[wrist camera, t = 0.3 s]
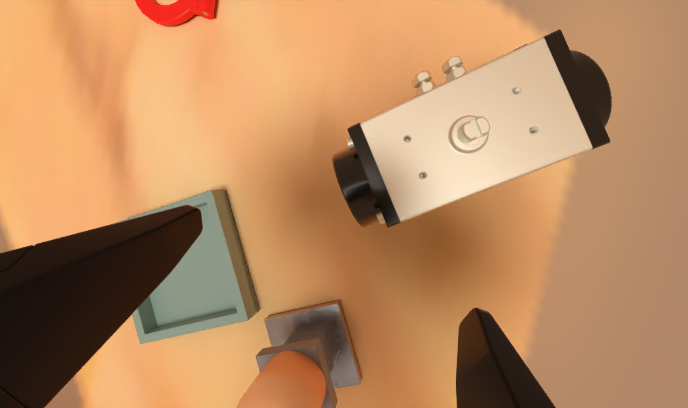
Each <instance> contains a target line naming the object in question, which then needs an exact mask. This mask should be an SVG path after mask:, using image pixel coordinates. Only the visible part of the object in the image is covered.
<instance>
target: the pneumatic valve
mask: <svg viewBox="0 0 688 408" xmlns="http://www.w3.org/2000/svg"><path fill="white" fill-rule="evenodd" d="M462 64H463V62H462V59H461V58H460V56H455V57H452V58H451V59H449V60H448V61H446V62H445V63H444V64H443V66H442V70H443V72H444V73H445V74H448V75H447V77H446V79H447V82H445V83H443V84H441V85H439V86H435V84H434V82H433V81H430V80H431V79H432V76H431V74H430V73H429V72H428V71H424V72H422V73H420V74H418V75H417V76H415V77H414V78H413V80H412V84H413V87H414V88H418V89H417V90H416V94H417V96H415V97H413V98H411V99H409V100H407V101H404V102H402V103H400V104H398V105H396V106H394V107H392V108H390V109H387V110H385V111H383V112H381V113H379V114H377V115H375V116H373V117H370V118H368V119H366V120H364V121H362V122H360V123H358V124H355V125H353V126H351V127H350V128H348V132H349V134H350V137H351V138H349V139H346V143H347V145H348V148H347V149H345V150H343V151H341V152H339V153H336V154H334V155H333V158H332V161H333V166H334V170H335V174H336V177H337V180H338V183H339V185H340V188H341V191H342V193H343V195H344V198H345V200H346V202H347V204H348V206H349V208H350V210H351V212H352V214H353V216H354V217H355V219H356V220H357V222H358V223H359V224H360V225H361V226H362V227H366V226H368V225H371V224H373V223H376V222H379V223H380V224H383V223H386V225H387V227H390V226H393V225H395V224H398V223H401V222H403V221H406V220H408V219H411V218H414V217H416V216H419V215H422V214H424V213H427V212H429V211H432V210H435V209H437V208H440V207H443V206H445V205H448V204H450V203H453V202H456V201H458V200H461V199H463V198H466V197H469V196H471V195H474V194H477V193H479V192H482V191H484V190H487V189H490V188H492V187H495V186H497V185H500V184H503V183H505V182H508V181H511V180H513V179H516V178H518V177H521V176H524V175H526V174H529V173H532V172H534V171H537V170H539V169H542V168H545V167H547V166H550V165H552V164H555V163H558V162H560V161H563V160H566V159H568V158H571V157H573V156H576V155H579V154H581V153H584V152H586V151H589V150H592V149H594V148H597V147H599V146H602V145H605V144H607V143H610V139H609V137H608V135H607V132H606V130H605V126H606V124H607V122H608V120H609V117H610V113H611V107H612V104H611V103H612V101H611V100H612V97H611V91H610V87H609V83H608V81H607V79H606V76H605V74H604V73H603V71H602V70H601V68H600V67H599V66H598V64H596V62H595V61H594V60H592V59H591V58H590V57H589V56H587V55H585V54H583V53H581V52H577V51H571V50H569V47H568V45H567V43H566V41H565V38H564V36H563V34H562V32H561V30H557V31H555V32H553V33H551V34H549V35H546V36H544V37H542V38H540V39H538V40H536V41H534V42H532V43H529V44H526V45H524V46H522V47H519V48H517V49H515V50H513V51H511V52H509V53H507V54H505V55H502V56H500V57H498V58H496V59H494V60H492V61H490V62H487V63H485V64H483V65H481V66H479V67H477V68H475V69H473V70H470V71H468V72H467V71H466V69H465V67H464V66H461V65H462ZM460 66H461V67H460Z"/></svg>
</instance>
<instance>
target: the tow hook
mask: <svg viewBox="0 0 688 408" xmlns="http://www.w3.org/2000/svg"><path fill="white" fill-rule="evenodd" d="M135 1H136V4H137V6H138V7H139V9H140V10H141V11H142V13H143V14H144V15H146V16H147V17H148V18H150V19H151V20H153V21H154V22H155V23H157V24H161V25H164V26H175V25H178V24H181V23H184V22H185V21H187V20H188V19H190V18H191V17H193V16H194V15H201V16H202V17H204V18H207V19H213V17H214V10H215V2H216V0H178V1H177V2H175V3H173V4H170V5H159V4H157V3H156V2H155V0H135Z"/></svg>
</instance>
